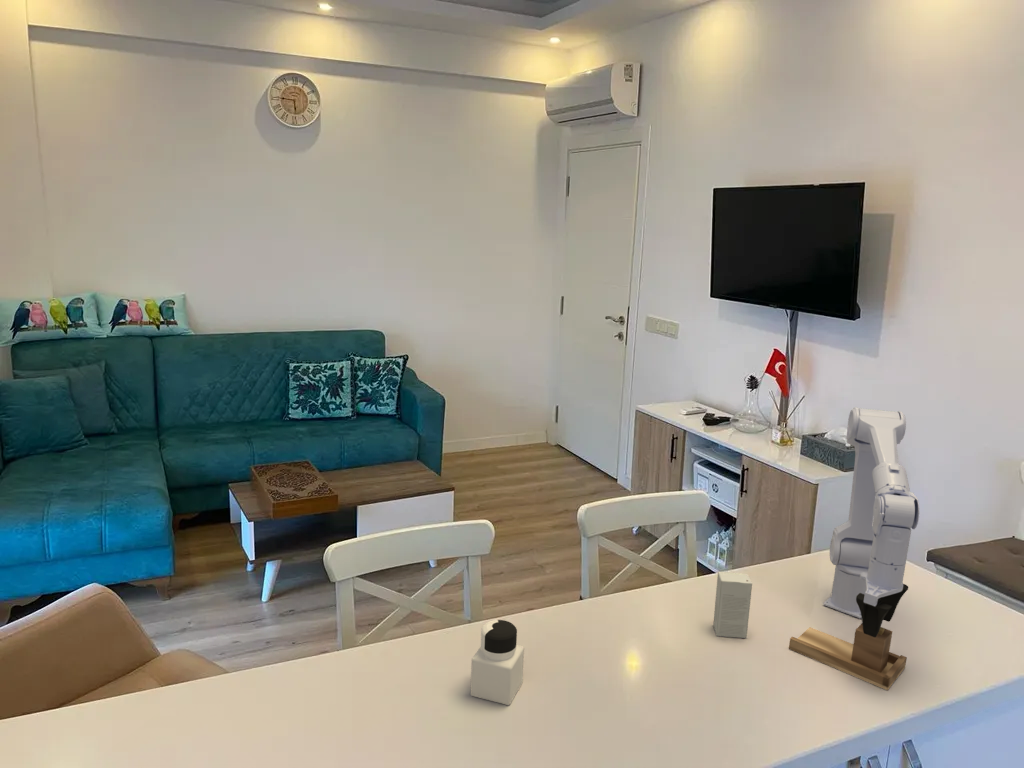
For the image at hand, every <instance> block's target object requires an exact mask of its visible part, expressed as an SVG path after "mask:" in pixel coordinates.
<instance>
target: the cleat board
mask: <svg viewBox="0 0 1024 768" xmlns="http://www.w3.org/2000/svg"><path fill="white" fill-rule="evenodd" d="M853 644H854V643H851V642H848V641H847V640H843V639H841V638H838V637H836V636H834V635H832V634H829V633H826V632H823V631H821V630H819V629H816V628H814V627H812V626H810V627H808V628H807V629H806V630H805V631H804V632H803V633H802V634H801V635H800V636H799V637H797V638H796V637H794V636H791V637H789V645H788V650H791V651H793V652H795V653H798V654H800V655H802V656H805V657H807V658H809V659H812V660H814V661H817V662H820V663H821V664H824V665H826V666H828V667H831V668H833V669H836V670H837V671H838V670H839V671H841V672H842V673H845V674H848V675H850V676H852V677H855V678H857V679H860V680H862V681H864V682H867V683H869V684H871V685H872V686H873V685H874V686H876V687H878V688H881V689H883V690H886V691H889V689H890V688H891V687H892V685H893V684H895V681H896V680H897V679H898V677H899V676H900V675H901V674H902V672H903V671H904V670H905V668H906V664H907V658H908V657H907V656H904V655H898V654H896V653H895V652H891V651H889V656H888V662H887V666H886V667H885V668H884V669H883V671H882V672H881V673H880V672H877V671H875V670H873V669H870V668H868V667H865V666H863V665H860V664H858V663H855V662H853V661H851V657H852V651H853Z"/></svg>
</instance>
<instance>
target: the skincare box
mask: <svg viewBox="0 0 1024 768" xmlns="http://www.w3.org/2000/svg"><path fill="white" fill-rule="evenodd" d="M715 589H716V591H715V601H714V613H713V623H712V624H713V625H712V626H713V629H714V633H715V636H716V637H724V638H725V637H726V638H739V639H747V636H748V627H749V626H748V625H749V618H750V609H751V608H750V607H751V599H752V598H751V597H752V589H753V582H752V580H751V578H750V576H749V574H748V573H741V572H739V573H737V572H728V571H727V572H726V571H725V572H724V571H718V572H717V580H716V588H715Z"/></svg>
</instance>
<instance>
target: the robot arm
mask: <svg viewBox="0 0 1024 768" xmlns="http://www.w3.org/2000/svg"><path fill="white" fill-rule="evenodd" d="M906 420H907V419H906V416H905V414H904V413H903V411H900V410H898V411H892V410H891V411H890V410H879V409H869V408H861V407H860V408H859V407H857V406H855V407H853V408H852V409H851V410H850V412H849V414H848V421H847V430H846V440H847V441H846V443H847V444H848V445H851V446H853V447H854V452H855V455H854V467H853V476H852V484H851V493H850V494H851V495H850V504H849V511H848V520H847V521H846V522H844V523H842V524H840V525H838V526H836V527H834V529H833V530H832V535H831V536H832V537H831V538H830V544H829V561H830V562H831V563H832V565H833V566H835V567H834V574H833V581H832V589H831V595H830V596H829V597H828V598H827V599H826V600H824V601H823V606H825V607H828V608H830V609H833V610H836V611H838V612H841V613H844V614H846V615H849V616H853V617H854V618H857V619H861V624H862V625H863V632H864V634H867V635H870V636H872V637H876V636H877V634H878V633H879V630H880V627H882V624H883V621H885V622H891V620H892V619H893V616H894V614H895V612H896V610H897V607H898V605H899V603H900V600H901V599H902V598H903V596H904V594H906V593H907V591H909V585H907V584H905V583H904V576H905V570H906V564H907V559H908V552H909V547H910V542H911V536H912V530H915V529H916V528H917V526H918V524H919V520H920V503H919V499H918V497H917V495H915V492H911V490H910V485H909V480H908V474H907V470H906V468H905V467H904V466H903V465H902V464H899V458H898V445H900V444H901V442H902V440H903V439H904V437H905V434H906V429H907V421H906Z"/></svg>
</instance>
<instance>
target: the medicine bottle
mask: <svg viewBox="0 0 1024 768" xmlns="http://www.w3.org/2000/svg"><path fill="white" fill-rule="evenodd" d="M480 636H481V637H480V647H479V648H478V649H477V650H476V652H475V654H474V655H473V656H472V658H471V666H470V667H471V668H470V669H471V671H470V696H471V697H475V698H479V699H482V700H487V701H490V702H495V703H498V704H502V705H506V706H509V705H511V703H512V702H513V700H514V698H515V696H516V695H517V693H518V691H519V689H520V688H521V686H522V684H523V681H524V679H523V678H524V677H523V676H524V662H525V661H524V657H525V647H524V646H523V645H520V644H519V645H518V644H517V639H518V629H517V626H515V625H514V624H513V623H512V622H510V621H508V620H503V619H494V620H493V619H492V620H490V621H487V622H486V623H484V624H483V625H482V626H481V630H480Z"/></svg>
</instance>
